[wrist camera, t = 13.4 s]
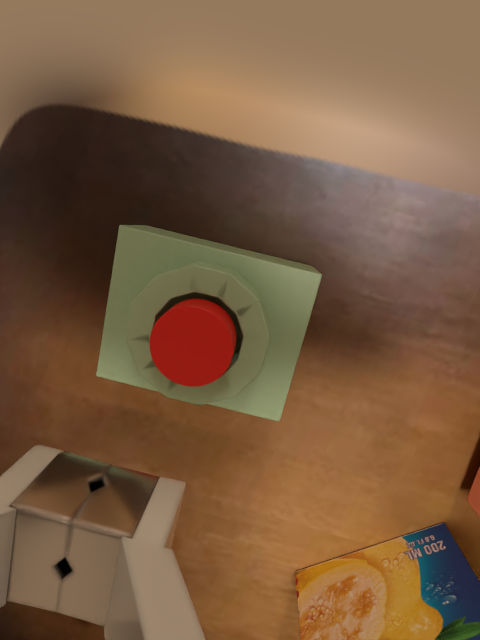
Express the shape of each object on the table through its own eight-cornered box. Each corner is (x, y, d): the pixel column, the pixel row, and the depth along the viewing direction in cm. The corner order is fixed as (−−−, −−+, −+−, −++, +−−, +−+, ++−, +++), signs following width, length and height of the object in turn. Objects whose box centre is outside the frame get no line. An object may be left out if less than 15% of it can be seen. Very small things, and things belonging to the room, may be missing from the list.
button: (153, 362, 18) (142, 376, 17) (167, 289, 18) (156, 296, 16) (226, 380, 18) (222, 396, 17) (244, 308, 18) (242, 317, 16)
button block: (124, 351, 24) (79, 390, 19) (145, 225, 23) (103, 224, 17) (277, 389, 24) (280, 440, 19) (312, 265, 22) (328, 279, 17)
